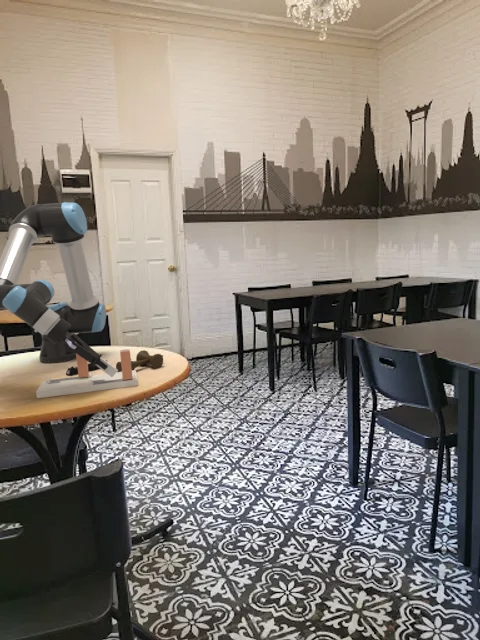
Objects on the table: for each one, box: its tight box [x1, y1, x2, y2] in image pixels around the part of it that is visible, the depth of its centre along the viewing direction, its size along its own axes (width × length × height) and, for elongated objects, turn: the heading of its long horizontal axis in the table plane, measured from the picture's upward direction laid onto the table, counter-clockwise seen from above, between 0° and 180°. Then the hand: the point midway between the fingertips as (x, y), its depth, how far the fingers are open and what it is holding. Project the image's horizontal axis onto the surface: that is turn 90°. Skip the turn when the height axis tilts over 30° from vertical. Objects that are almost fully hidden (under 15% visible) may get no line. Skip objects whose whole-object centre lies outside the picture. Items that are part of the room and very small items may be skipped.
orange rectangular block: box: [119, 347, 133, 380], centre depth 148 cm, size 3×3×10 cm
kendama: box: [115, 349, 164, 372], centre depth 170 cm, size 6×10×20 cm
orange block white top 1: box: [75, 354, 90, 378], centre depth 154 cm, size 3×3×10 cm
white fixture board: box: [36, 369, 139, 399], centre depth 151 cm, size 14×30×3 cm, turn 105°
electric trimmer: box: [65, 359, 108, 377], centre depth 172 cm, size 4×16×3 cm, turn 133°
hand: (114, 373), depth 147 cm, fingers closed
